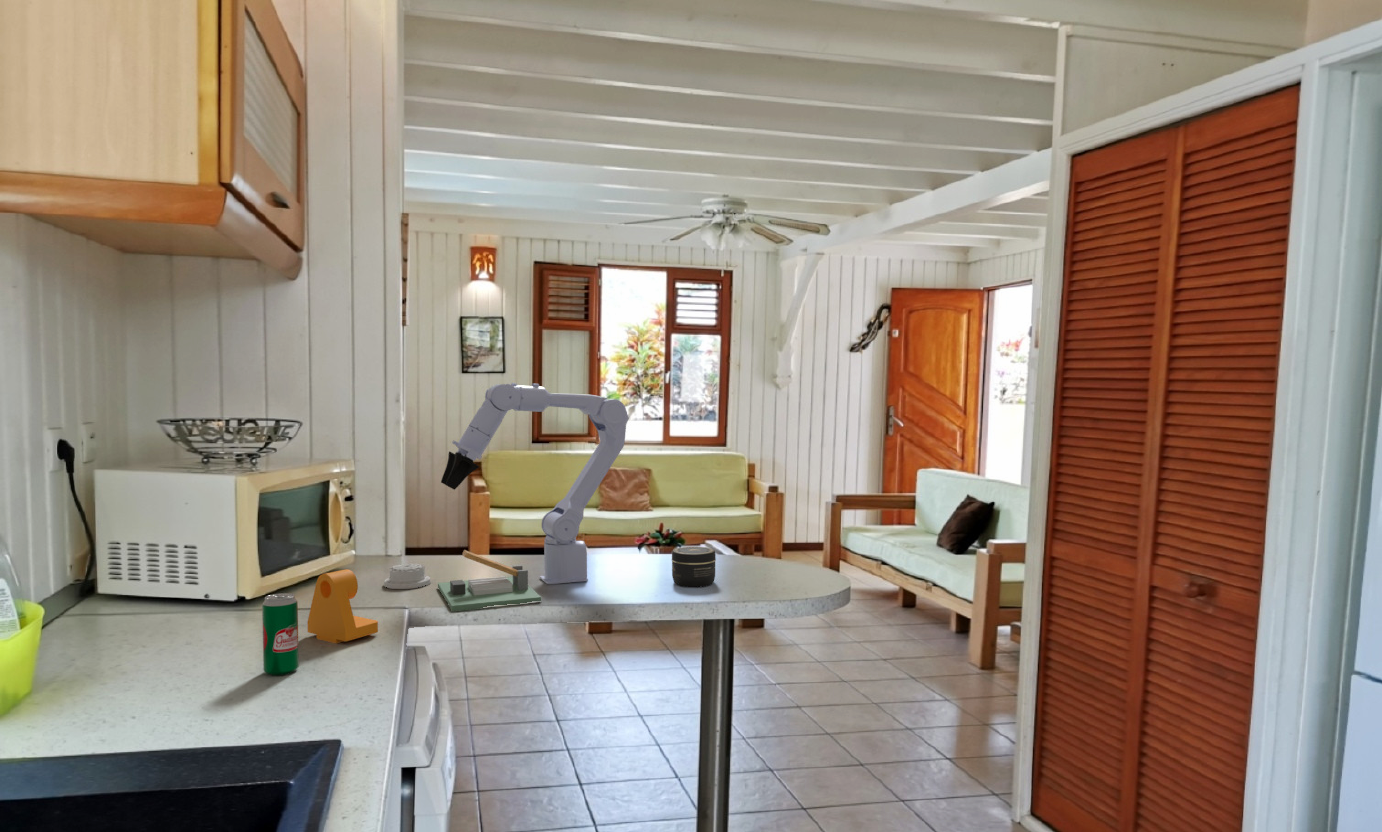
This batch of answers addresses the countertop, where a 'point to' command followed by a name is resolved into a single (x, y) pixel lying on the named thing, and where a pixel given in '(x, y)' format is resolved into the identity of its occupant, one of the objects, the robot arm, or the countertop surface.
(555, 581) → the robot arm
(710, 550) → the jar
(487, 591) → the board
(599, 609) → the countertop surface
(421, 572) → the mechanical component
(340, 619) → the bracket
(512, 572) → the orange brown flat bar
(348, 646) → the countertop surface
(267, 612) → the soda can
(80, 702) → the countertop surface
